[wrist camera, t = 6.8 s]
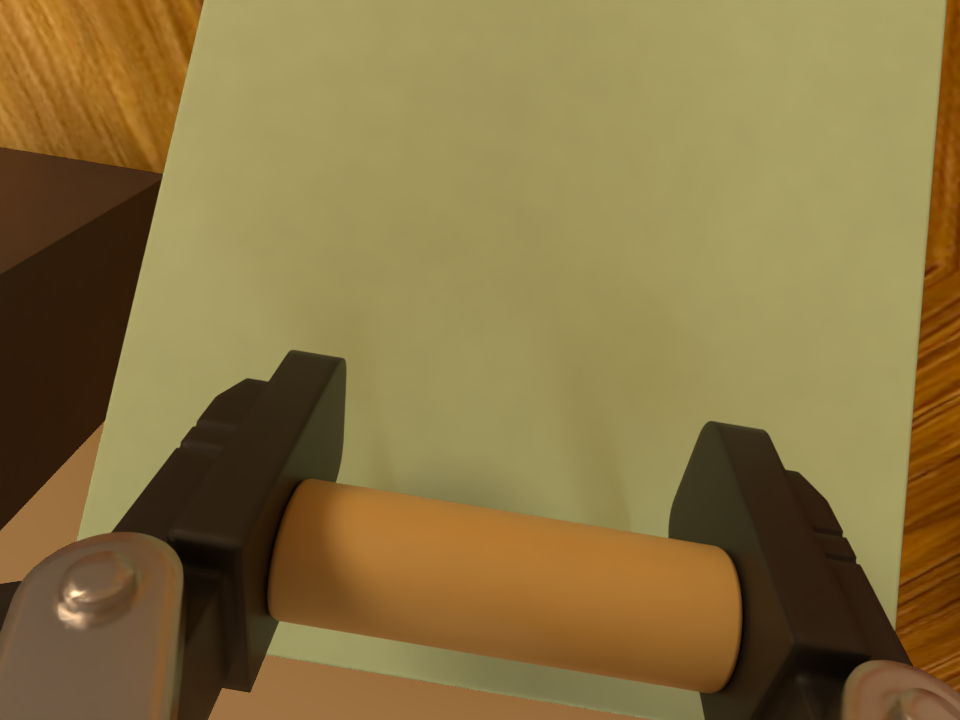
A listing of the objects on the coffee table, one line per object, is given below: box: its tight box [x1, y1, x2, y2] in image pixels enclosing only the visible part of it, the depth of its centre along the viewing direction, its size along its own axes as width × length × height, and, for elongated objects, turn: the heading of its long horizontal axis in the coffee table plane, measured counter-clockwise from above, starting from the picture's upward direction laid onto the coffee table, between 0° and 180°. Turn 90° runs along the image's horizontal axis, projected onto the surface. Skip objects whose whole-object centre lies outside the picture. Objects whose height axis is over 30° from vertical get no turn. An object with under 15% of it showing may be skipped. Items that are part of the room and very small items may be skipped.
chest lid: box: [77, 0, 947, 720], centre depth 10 cm, size 14×14×5 cm
